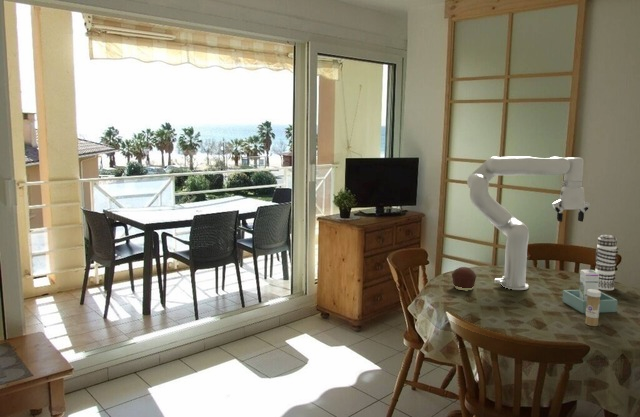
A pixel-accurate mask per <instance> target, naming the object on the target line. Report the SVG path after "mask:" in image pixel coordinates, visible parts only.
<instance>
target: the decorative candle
mask: <svg viewBox="0 0 640 417" xmlns="http://www.w3.org/2000/svg"><path fill="white" fill-rule="evenodd" d="M597 239H598V241H597V246H596V247H597V248H596V249H595V257H594V258H595V261H594V262H595V263H596V267H595V271H596V272H597V273H599V287H598V290H602V291H613V290H615V286H616V284H615V283H616V281H615V280H616V270H615V268H616V265H617V262H616V261H618V259H617V258H618V255H617V254H618V253H619V252H618V250H619V248H618V246H617V243H618V239H617V238H616V237H615V235H611V234H601V235H600V236H599V237H597Z"/></svg>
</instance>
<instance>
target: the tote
mask: <svg viewBox="0 0 640 417" xmlns="http://www.w3.org/2000/svg"><path fill="white" fill-rule="evenodd" d="M562 303H563V304H564V303H565V304H566V305H568V307H569V306H570V307H571V308H572V309H575V310H576V311H578V312H580V313H581V314H586V307H587V301H584V300H582V299H580V298H579V289H565V290H562ZM617 310H618V299H616V298H615V297H612V296H610V295H609V294H606V293H604V292H602V291H601V296H600V306H599V314H600V313H617Z"/></svg>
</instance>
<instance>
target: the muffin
mask: <svg viewBox="0 0 640 417" xmlns="http://www.w3.org/2000/svg"><path fill="white" fill-rule="evenodd" d="M451 277H452V284H454V285H455V286H458V287H462V288H472V287H473V286H474V287H475V284H476V278H477V274H476V273H475V272H474V270H473V269H471V268H470V267H466V266H461V267H457V268H456V269H454V270H453V272H452V273H451Z"/></svg>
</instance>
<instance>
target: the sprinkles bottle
mask: <svg viewBox="0 0 640 417" xmlns="http://www.w3.org/2000/svg"><path fill="white" fill-rule="evenodd" d="M601 292H602V291H600V289H598V290H596V289H588V290H587V307H586V313H585V321H584V323H585V324H586V325H587V326H590V327H597V326H599V317H600V313H599V306H600V296H601Z"/></svg>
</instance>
